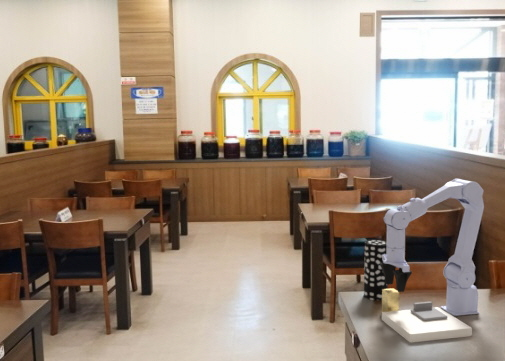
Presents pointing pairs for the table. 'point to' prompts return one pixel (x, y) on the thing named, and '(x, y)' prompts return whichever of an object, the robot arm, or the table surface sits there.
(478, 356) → the table surface
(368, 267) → the white-spotted black cylinder
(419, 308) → the panel
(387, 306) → the peg
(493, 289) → the table surface
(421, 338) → the socket base
